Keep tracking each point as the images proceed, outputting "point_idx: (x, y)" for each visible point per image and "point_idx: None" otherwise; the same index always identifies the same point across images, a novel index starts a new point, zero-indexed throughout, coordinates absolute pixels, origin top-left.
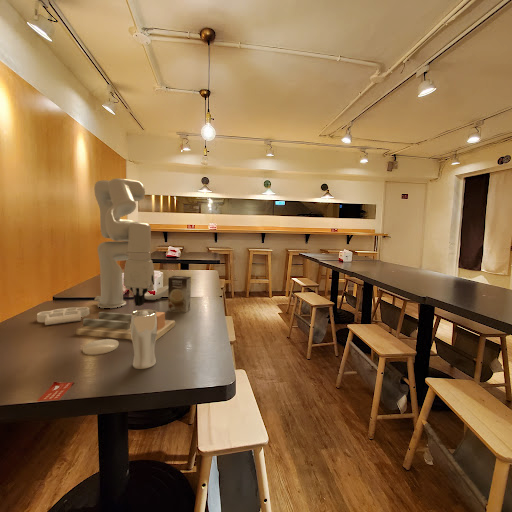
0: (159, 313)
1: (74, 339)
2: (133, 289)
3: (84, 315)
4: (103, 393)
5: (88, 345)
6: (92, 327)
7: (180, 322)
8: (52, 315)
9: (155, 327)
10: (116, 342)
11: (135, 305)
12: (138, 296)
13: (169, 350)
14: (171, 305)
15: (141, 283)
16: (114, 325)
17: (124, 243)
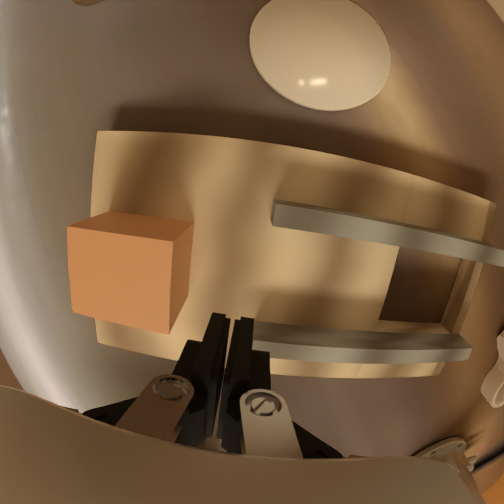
0: (89, 289)
1: (466, 147)
2: (283, 449)
3: (493, 372)
4: None
5: (375, 48)
6: (455, 224)
7: (107, 364)
8: None
9: None
10: (270, 71)
11: (253, 319)
12: (204, 367)
13: (46, 76)
14: None
15: (19, 468)
16: (362, 216)
17: None
